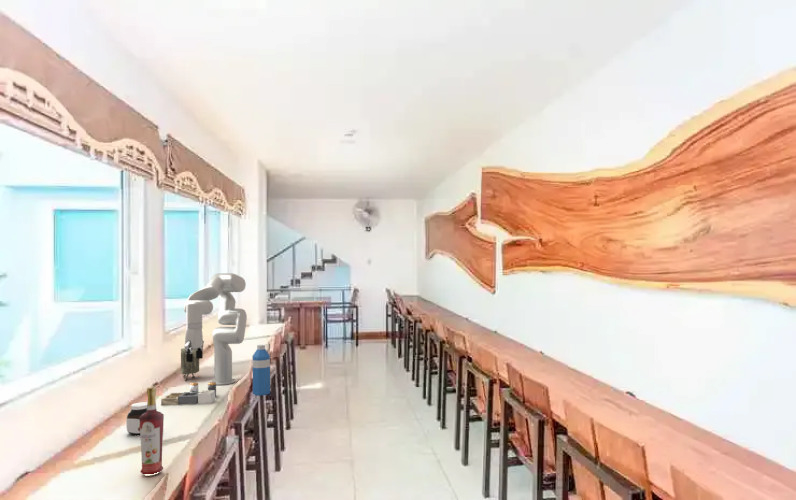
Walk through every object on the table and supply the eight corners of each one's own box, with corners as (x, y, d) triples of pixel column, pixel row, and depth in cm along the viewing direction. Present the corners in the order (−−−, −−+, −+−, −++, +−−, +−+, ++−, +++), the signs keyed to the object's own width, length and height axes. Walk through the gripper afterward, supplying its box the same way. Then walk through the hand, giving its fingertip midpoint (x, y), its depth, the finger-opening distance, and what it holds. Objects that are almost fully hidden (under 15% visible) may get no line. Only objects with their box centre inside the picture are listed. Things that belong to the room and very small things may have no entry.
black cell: (209, 395, 291) (209, 382, 291) (217, 395, 291) (217, 382, 291) (206, 397, 287) (206, 383, 287) (214, 397, 287) (214, 383, 287)
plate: (187, 396, 281) (187, 395, 281) (196, 396, 281) (196, 395, 281) (183, 399, 276) (183, 397, 276) (193, 399, 276) (193, 397, 276)
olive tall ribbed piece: (181, 377, 338) (180, 335, 338) (197, 375, 342) (196, 334, 342) (182, 382, 325) (182, 338, 325) (199, 380, 328) (199, 337, 329)
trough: (170, 398, 285) (170, 392, 285) (186, 398, 286) (186, 392, 286) (161, 405, 273) (161, 398, 273) (177, 404, 274) (177, 398, 274)
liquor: (167, 469, 189) (166, 385, 190) (159, 477, 182) (158, 390, 182) (145, 469, 189) (144, 385, 189) (135, 478, 182) (135, 390, 182)
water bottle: (273, 391, 299) (272, 343, 299) (267, 395, 290) (266, 346, 290) (255, 391, 300) (255, 343, 300) (249, 395, 291) (249, 346, 291)
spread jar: (125, 437, 225) (124, 407, 225) (130, 428, 236) (130, 400, 236) (157, 434, 228) (157, 405, 228) (161, 426, 239) (161, 398, 239)
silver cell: (191, 396, 291) (191, 382, 291) (199, 396, 291) (199, 382, 291) (189, 398, 287) (188, 384, 287) (197, 397, 287) (196, 384, 287)
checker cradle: (184, 399, 283) (184, 392, 283) (202, 399, 283) (202, 391, 283) (177, 404, 274) (177, 396, 274) (196, 404, 274) (196, 396, 274)
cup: (202, 400, 281) (202, 390, 281) (215, 400, 281) (215, 390, 281) (198, 403, 275) (197, 393, 275) (211, 403, 275) (211, 393, 275)
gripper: (196, 324, 295) (196, 357, 295) (178, 328, 278) (178, 363, 278) (209, 324, 294) (209, 357, 294) (192, 328, 277) (192, 363, 277)
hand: (194, 360), depth 286 cm, fingers open, 9 cm apart
